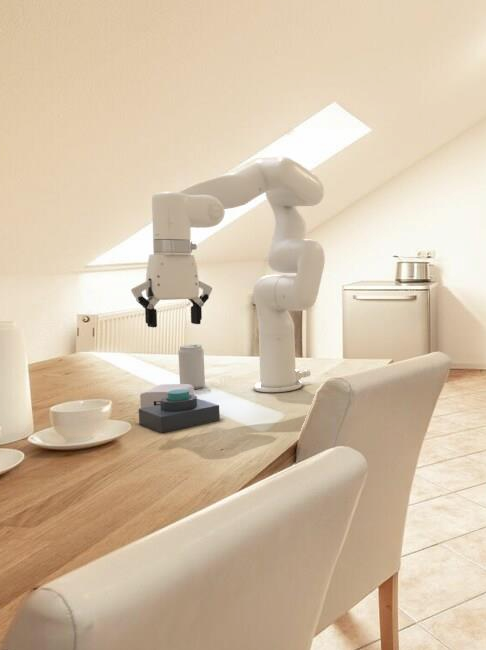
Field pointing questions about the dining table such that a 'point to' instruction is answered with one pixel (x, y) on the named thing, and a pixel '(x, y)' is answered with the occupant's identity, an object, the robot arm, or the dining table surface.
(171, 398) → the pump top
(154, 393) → the hinged button cover
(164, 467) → the dining table surface
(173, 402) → the teal push button box
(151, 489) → the dining table surface
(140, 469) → the dining table surface
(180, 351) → the beverage can
